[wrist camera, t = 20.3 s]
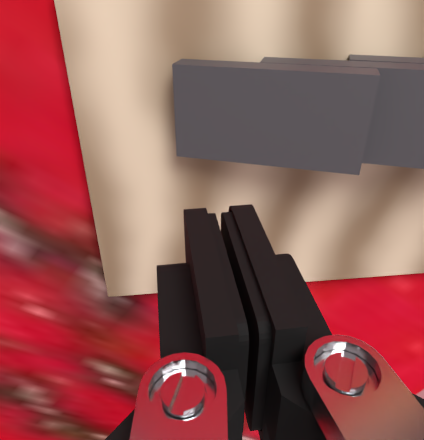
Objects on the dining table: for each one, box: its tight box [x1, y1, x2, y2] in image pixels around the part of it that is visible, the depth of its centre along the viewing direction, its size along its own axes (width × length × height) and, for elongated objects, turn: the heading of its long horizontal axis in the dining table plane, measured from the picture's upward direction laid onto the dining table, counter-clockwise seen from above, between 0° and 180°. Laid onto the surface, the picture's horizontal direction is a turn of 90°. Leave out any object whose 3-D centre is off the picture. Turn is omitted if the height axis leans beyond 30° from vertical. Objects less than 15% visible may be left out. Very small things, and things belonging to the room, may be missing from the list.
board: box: [54, 0, 424, 297], centre depth 26 cm, size 26×20×1 cm
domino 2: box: [260, 57, 424, 169], centre depth 22 cm, size 2×5×10 cm
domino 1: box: [172, 59, 380, 175], centre depth 21 cm, size 2×5×10 cm
